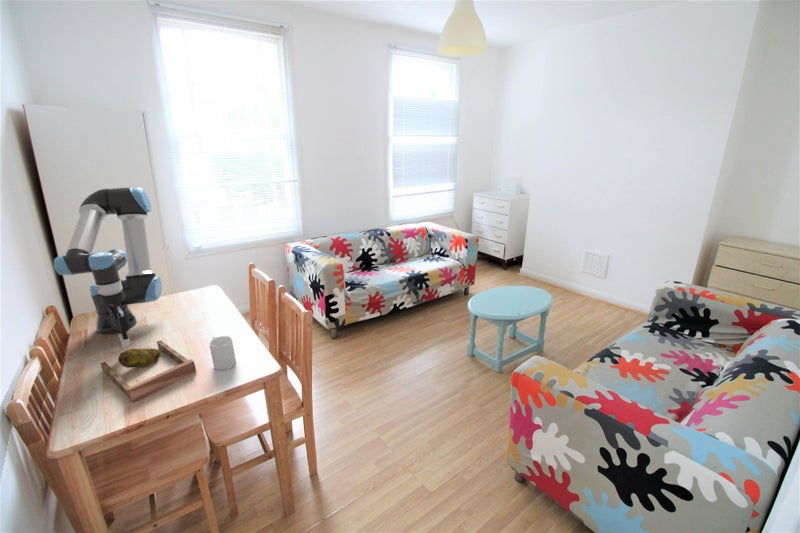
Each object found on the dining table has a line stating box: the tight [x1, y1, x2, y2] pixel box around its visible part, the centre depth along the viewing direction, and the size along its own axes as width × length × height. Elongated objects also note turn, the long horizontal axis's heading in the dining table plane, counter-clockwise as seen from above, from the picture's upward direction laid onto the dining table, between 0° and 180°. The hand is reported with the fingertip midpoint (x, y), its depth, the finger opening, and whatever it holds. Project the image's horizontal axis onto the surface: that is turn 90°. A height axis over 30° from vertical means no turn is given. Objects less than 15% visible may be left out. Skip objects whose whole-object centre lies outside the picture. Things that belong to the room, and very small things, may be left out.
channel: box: [100, 339, 197, 403], centre depth 140 cm, size 30×21×5 cm
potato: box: [118, 348, 161, 369], centre depth 143 cm, size 8×13×8 cm, turn 124°
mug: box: [208, 335, 237, 371], centre depth 144 cm, size 12×8×10 cm, turn 43°
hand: (126, 345), depth 150 cm, fingers closed
